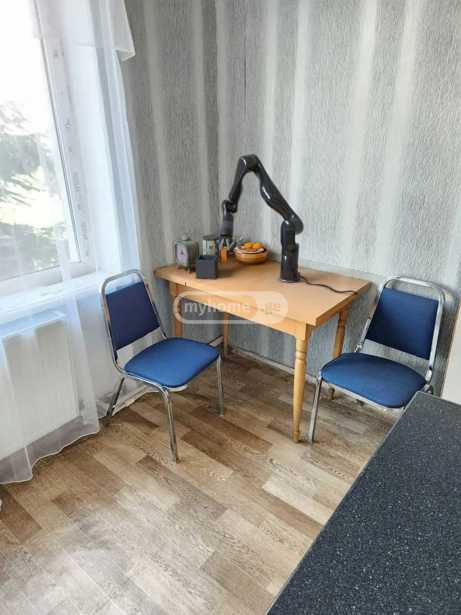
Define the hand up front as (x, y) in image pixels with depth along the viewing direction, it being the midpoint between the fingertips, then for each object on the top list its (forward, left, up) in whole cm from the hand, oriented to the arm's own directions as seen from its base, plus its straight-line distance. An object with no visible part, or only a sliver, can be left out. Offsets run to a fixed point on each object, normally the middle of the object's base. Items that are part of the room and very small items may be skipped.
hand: (223, 256), depth 222 cm
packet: (0, -2, -4) cm, 5 cm away
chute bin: (+8, +8, -9) cm, 14 cm away
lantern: (+12, -23, -9) cm, 28 cm away
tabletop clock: (+22, -1, -9) cm, 24 cm away
